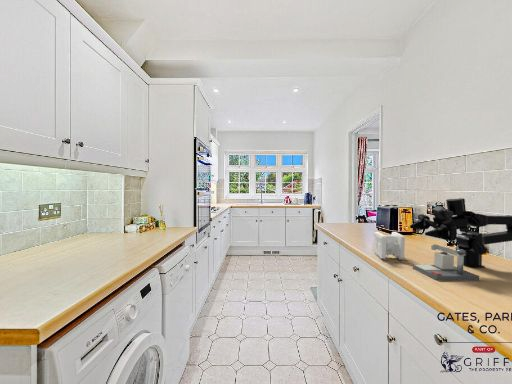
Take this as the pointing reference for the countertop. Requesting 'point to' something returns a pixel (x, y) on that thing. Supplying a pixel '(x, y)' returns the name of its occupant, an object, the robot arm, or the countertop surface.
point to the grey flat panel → (444, 273)
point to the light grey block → (444, 260)
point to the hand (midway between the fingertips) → (417, 230)
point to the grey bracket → (458, 253)
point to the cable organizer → (389, 245)
